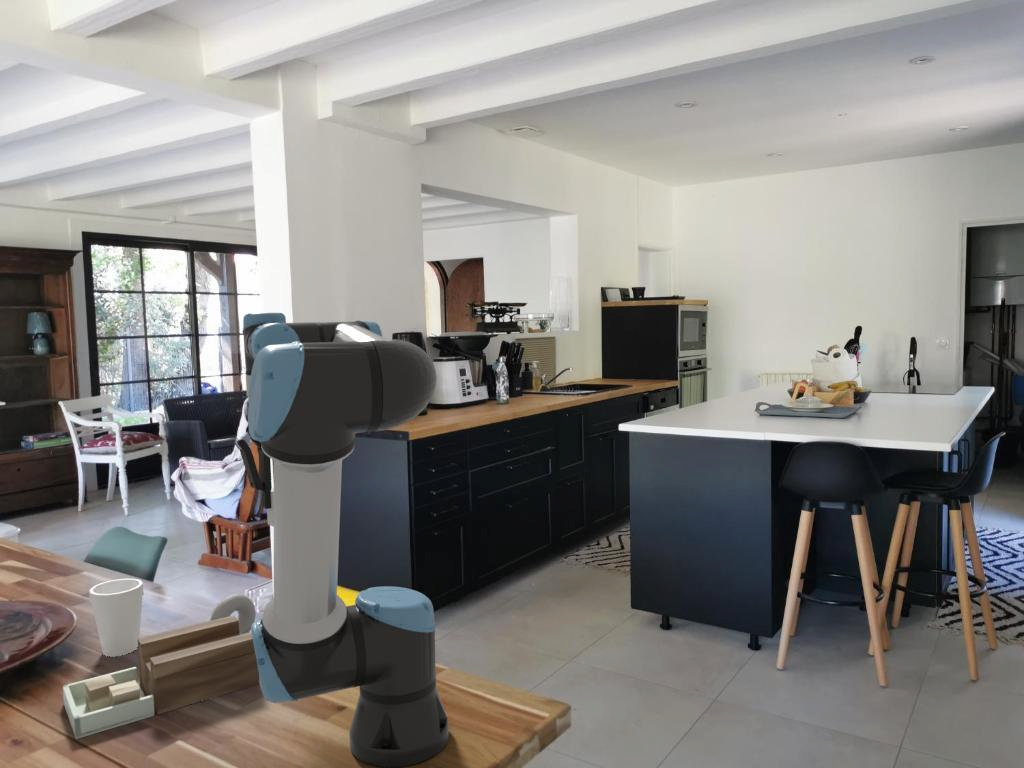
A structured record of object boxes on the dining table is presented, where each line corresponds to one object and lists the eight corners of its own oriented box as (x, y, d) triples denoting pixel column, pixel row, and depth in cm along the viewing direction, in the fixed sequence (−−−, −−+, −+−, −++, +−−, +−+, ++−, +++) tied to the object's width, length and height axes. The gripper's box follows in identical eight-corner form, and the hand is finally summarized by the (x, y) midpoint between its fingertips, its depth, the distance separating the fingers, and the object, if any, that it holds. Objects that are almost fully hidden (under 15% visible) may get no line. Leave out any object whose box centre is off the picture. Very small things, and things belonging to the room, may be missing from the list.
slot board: (259, 684, 139) (257, 638, 138) (157, 714, 129) (154, 665, 128) (235, 657, 150) (233, 614, 149) (139, 683, 140) (137, 637, 139)
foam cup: (156, 640, 158) (152, 578, 157) (129, 660, 149) (125, 595, 148) (112, 639, 159) (108, 578, 158) (83, 659, 150) (78, 594, 149)
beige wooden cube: (136, 702, 132) (141, 711, 129) (110, 709, 129) (114, 719, 126) (135, 679, 131) (139, 688, 128) (108, 686, 129) (113, 696, 126)
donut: (218, 654, 152) (215, 604, 151) (207, 649, 154) (204, 601, 153) (260, 635, 160) (258, 588, 159) (249, 632, 162) (247, 585, 161)
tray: (154, 715, 128) (153, 696, 128) (75, 739, 122) (74, 719, 121) (136, 684, 140) (135, 666, 139) (63, 704, 133) (62, 685, 133)
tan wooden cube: (89, 690, 128) (91, 713, 128) (116, 682, 130) (117, 705, 131) (84, 682, 131) (85, 704, 131) (110, 674, 133) (111, 697, 134)
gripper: (293, 393, 148) (299, 515, 150) (225, 399, 140) (231, 527, 142) (310, 396, 142) (316, 522, 144) (240, 401, 134) (247, 535, 136)
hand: (274, 524), depth 143 cm, fingers closed
